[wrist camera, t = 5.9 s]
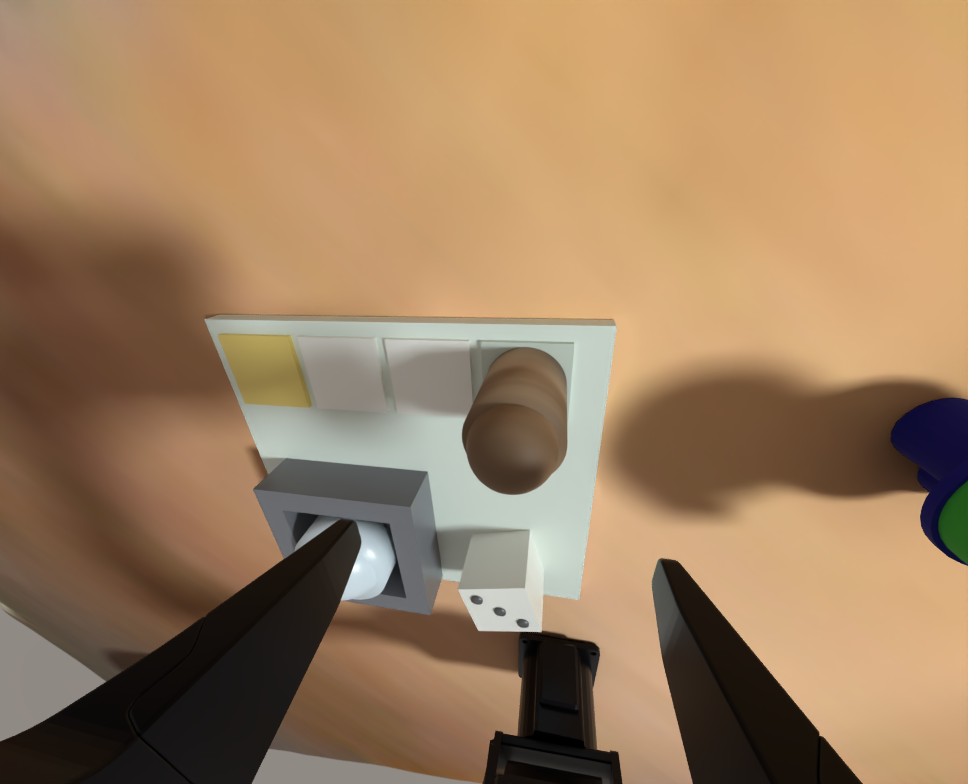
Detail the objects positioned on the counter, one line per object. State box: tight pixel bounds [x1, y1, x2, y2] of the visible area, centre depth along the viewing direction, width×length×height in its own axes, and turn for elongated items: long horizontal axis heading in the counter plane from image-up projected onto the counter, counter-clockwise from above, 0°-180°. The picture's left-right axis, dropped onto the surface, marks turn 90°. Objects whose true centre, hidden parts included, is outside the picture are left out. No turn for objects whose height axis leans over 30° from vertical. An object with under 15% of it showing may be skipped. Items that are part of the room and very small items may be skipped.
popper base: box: [253, 458, 443, 615], centre depth 24 cm, size 10×10×3 cm
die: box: [458, 530, 544, 632], centre depth 22 cm, size 4×4×4 cm
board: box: [204, 314, 617, 600], centre depth 23 cm, size 20×22×1 cm
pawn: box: [462, 347, 568, 495], centre depth 15 cm, size 4×4×7 cm
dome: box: [295, 515, 397, 601], centre depth 23 cm, size 6×6×5 cm
